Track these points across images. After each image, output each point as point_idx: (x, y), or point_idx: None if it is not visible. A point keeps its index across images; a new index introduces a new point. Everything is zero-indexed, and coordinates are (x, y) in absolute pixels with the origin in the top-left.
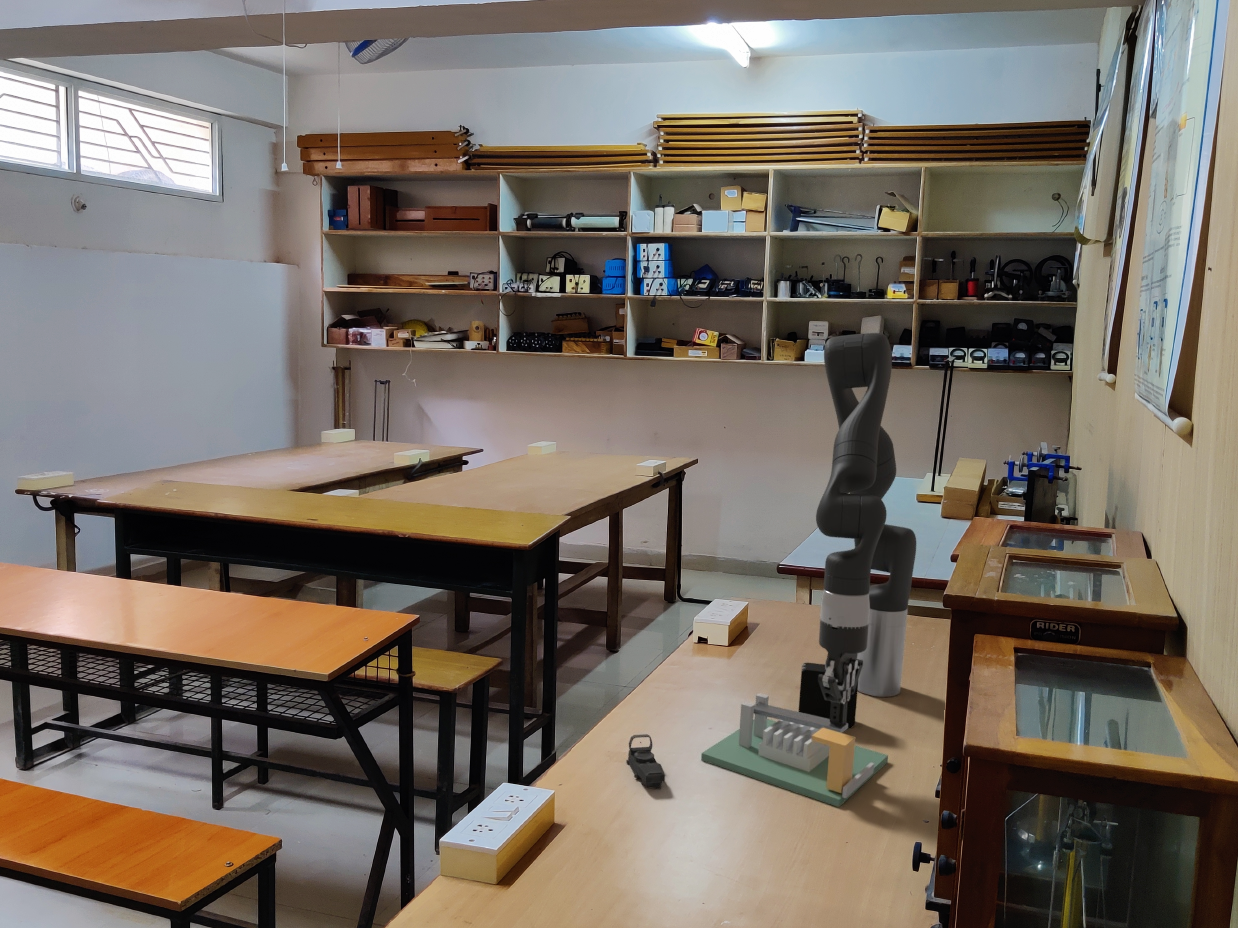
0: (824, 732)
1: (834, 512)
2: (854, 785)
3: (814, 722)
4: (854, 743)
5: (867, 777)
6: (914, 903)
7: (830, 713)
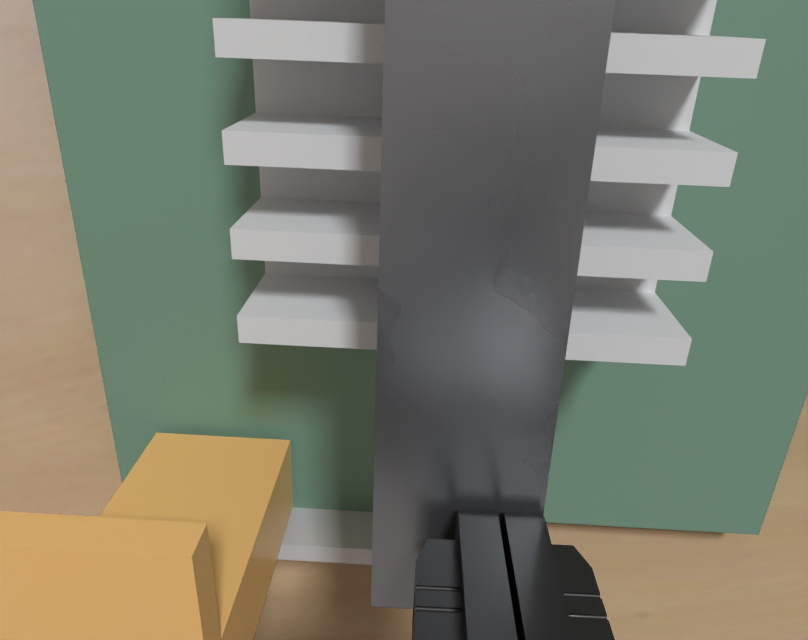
0: (106, 594)
1: None
2: None
3: (386, 395)
4: None
5: None
6: None
7: (463, 568)
